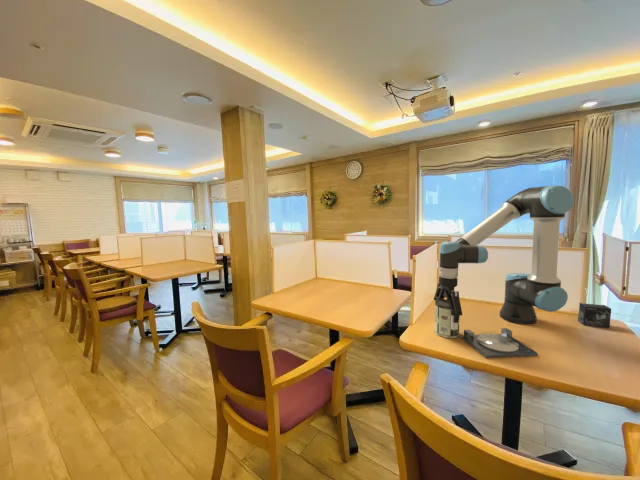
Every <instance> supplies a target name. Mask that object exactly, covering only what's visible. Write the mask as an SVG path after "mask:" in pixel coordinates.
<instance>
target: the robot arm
mask: <svg viewBox="0 0 640 480" xmlns="http://www.w3.org/2000/svg"><path fill="white" fill-rule="evenodd" d="M574 199H575V198H574V195H573V193H572V192H571V190H569V189H568V188H567V187H565V186H563V185H546V186H537V187H536V186H535V187H533V186H532V187H528V188H525V189H522V190H521V191H519V192H518V193H516V194H514V195H512V196H511V197H510V198H508V199H506V201H504V202H502V204H501V207H500V208H498V209H497V210H496V211H495V212H493V213H491V214H490V215H489V216H488V217H486V218H485V219H484V220H482V221H481V222H480V223H478V224H477V225H475V226H474V227H472V228H471V229H470V230H469V231H468V232H466V233H465V234H464V235H462V236H461V237H459V238H458V239H457V240H455V241H442V242H440V246H439V269H438V272H439V274H438V275H439V276H438V283H437V288H436V291H435V293H434V296H433V300H434V302H435V301H436V300H440V299H446V300H448V301H449V304H450V307H451V310H452V314H451V330H458V319H459V320H460V318H459V315H460V316H463V311H462V307H461V306H462V305H461V301H460V292H459V291H458V290H455V287H457V286H458V282H459V281H458V277H459V265H460V264H477V265H478V264H482V263H483V264H484V263H486V262H487V261H488V260H489V259H488V258H489V252H488V249H487V248H486V247H485V246H483V245H480V244H481V243H483V242H484V241H486V240H487V239H488V238H489V237H491V236H492V235H494V234H495V233H497V232H498V231H499V230H500V229H502V228H503V227H504V226H506V225H507V224H509V223H510V222H511V221H513V220H517V219H520V218H521V217H522V216H524V215H527V214H529V219H530V220H532V222H533V230H532V231H533V233H532V235H533V236H532V255H531V273H521V272H520V273H519V272H517V273H516V272H513V273H512V272H511V273H507V274H506V276H505V280H504V282H505V284H504V287H505V289H504V302H503V304H502V306H501V309H500V310H499V318H501V319H503V320H504V321H507V322H510V323H514V324H520V325H536V324H537V321H538V317H537V313H536V311H535V308H536V309H538V310H541V311H545V312H550V313H551V312H557V311H559V310H561V309H562V308H563V307H564V306H565V305H566V304H567V301H568V298H569V296H568V292H567V291H566V290H565V289H564V288H563V287H561V285H562V280H561V279H560V278H559V277H558V275H557V274H558V259H559V258H558V256H559V255H558V254H559V242H560V239H559V238H560V223H561V221H562V220H564V219H565V217H566V213H567V212H569V211H570V210H571V208H572V207H573V205H574V202H575V201H574Z"/></svg>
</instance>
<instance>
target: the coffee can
mask: <svg viewBox="0 0 640 480" xmlns="http://www.w3.org/2000/svg"><path fill="white" fill-rule="evenodd" d="M451 314H452V310H451V307H450V304H449V301H448V300H447V298H444V299H440V300H436V301H435V300H434V333H435V335H437V336H439V337H442V338H445V339H446V338H447V339H455V338H458V337H459V336H460V317H461V315H459V319H458V330H451Z"/></svg>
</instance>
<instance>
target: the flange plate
mask: <svg viewBox="0 0 640 480" xmlns="http://www.w3.org/2000/svg"><path fill="white" fill-rule="evenodd" d="M500 331H501V332H500V333H487V332H486V333H482V334H480V333H479V334H475V333H474V332H473V331H472V330H470V329H464V330H463V335H461V339H462V340H464V341H465V342H466V343H467V344H468V345H469V346H470V347H472V348H473V349H474V350H476V351H477V352H478V353H479V354H480V355H482V357H484V358H485V359H499V358H502V359H505V358H523V357H525V358H526V357H538V354H539V353H538V352H537V351H535V350H534V349H532V348H530V347H529V346H527V345H526V344H524V343H522V342H521V341H519V340H517V338H514V337H513V330H511V329H509V328H508V327H504V328H501V330H500Z"/></svg>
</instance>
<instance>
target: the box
mask: <svg viewBox="0 0 640 480" xmlns="http://www.w3.org/2000/svg"><path fill="white" fill-rule="evenodd" d="M578 306H579V309H578V318H577V322H579V323H580V324H581V325H582V326H587V327H594V328H595V327H596V328H605V329H610V325H611V316H612V308H610V306H608V305H605V304H593V303H584V302H579V305H578Z"/></svg>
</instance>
